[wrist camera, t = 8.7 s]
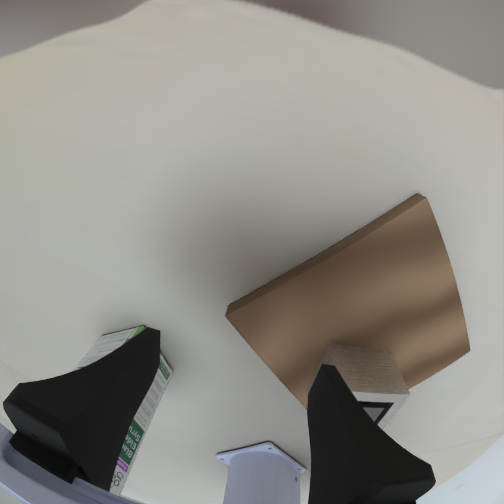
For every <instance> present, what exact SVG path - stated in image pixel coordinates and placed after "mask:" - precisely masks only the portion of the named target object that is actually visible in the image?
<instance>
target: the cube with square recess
mask: <svg viewBox="0 0 504 504" xmlns="http://www.w3.org/2000/svg"><path fill="white" fill-rule="evenodd" d="M322 364H327V365H335V367H336V368H337V370H338V371H339V373H340V375H341V376H342V378H343V379H344V381H345V383H346V384H347V386H348V387H349V389H350V390H351V392H352V393H353V395H354V396H355V398H356V399H357V400H358V401H368V402H383V405H384V409H383V411H382V412H381V413H380V415H379V416H378V417H377V419H376V420H375V421H374V422H375V423H376V424H377V425H378V426H379V427H380V428H381V429H382V430H383V429H384V428H385V426H386V425H387V424H388V423H389V421H390V420H391V419H392V418H393V416H394V415H395V414H396V413H397V411H398V410H399V409H400V407H401V406H402V405H403V403H404V402H405V401H406V399H407V398H408V397H409V395H410V393H409V391H408V388H407V386H406V384H405V381H404V379H403V377H402V374H401V372H400V370H399V368H398V365H397V363H396V361H395V359H394V356H393V354H392V352H391V351H387V350H379V349H371V348H364V347H357V346H350V345H343V344H336V343H330V342H329V344H328V346H327V348H326V350H325V353H324V355H323V357H322V359H321V362H320V364H319V366H318V368H317V370H316V372H315V374H314V377H313V379H312V381H311V383H310V385H309V387H308V389H307V403H308V393H309V391H310V389H311V386H312V384H313V382H314V380H315V378H316V376H317V374H318V371H319V369H320V367H321V365H322Z"/></svg>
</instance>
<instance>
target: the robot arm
mask: <svg viewBox="0 0 504 504" xmlns="http://www.w3.org/2000/svg"><path fill="white" fill-rule="evenodd" d="M159 365H160V331H159V330H156V329H152V328H149V327H147V328H145V329H144V330H143V331H141V332H140V333H138V334H137V335H136V336H134V337H133V338H132V339H130V340H129V341H127V342H126V343H124V344H123V345H121V346H120V347H119V348H117V349H116V350H114V351H112V352H111V353H109V354H107V355H106V356H104V357H102V358H101V359H99V360H97V361H95V362H93V363H91V364H89V365H87V366H85V367H83V368H80V369H78V370H75V371H72V372H70V373H67V374H64V375H61V376H57V377H54V378H50V379H45V380H40V381H34V382H27V383H19V384H18V385H17V386H16V387H15V389H14V390H13V391H12V392H11V393H10V395H9V396H8V397H7V398H6V399H5V401H4V402H3V407H4V410H5V412H6V414H7V416H8V417H9V419H10V420H11V422H12V423H13V425H14V426H15V428H16V429H17V431H16V432H15V434H13V433H12V432H11V431H10V430H8V429H7V428H6V427H5V426H3V425H2V424H1V423H0V486H1V487H2V488H4V489H5V490H6V491H7V492H9V493H10V494H11V495H13V496H14V497H15V498H17V499H18V500H19V501H21V502H22V503H24V504H139V503H136V502H133V501H131V500H128V499H125V498H123V497H120V496H117V495H115V494H112V493H110V487H111V484H112V480H113V476H114V472H115V469H116V465H117V462H118V459H119V455H120V453H121V450H122V447H123V444H124V441H125V438H126V436H127V433H128V430H129V428H130V425H131V423H132V421H133V418H134V416H135V415H136V413H137V411H138V409H139V407H140V405H141V403H142V402H143V400H144V398H145V396H146V394H147V392H148V391H149V389H150V387H151V385H152V383H153V381H154V378H155V376H156V373H157V371H158V368H159ZM307 416H308V426H309V437H310V447H311V478H310V491H309V500H308V504H416V500H417V499H418V498H419V497H421V496H422V495H424V494H425V493H426V492H428V491H429V490H430V489H431V488H432V487H433V486H434V485H435V482H436V480H435V477H434V473H433V470H432V467H431V465H430V464H428V463H426V462H425V461H423V460H421V459H419V458H418V457H416V456H414V455H413V454H411V453H410V452H408V451H407V450H406V449H404V448H403V447H401V446H400V445H399V444H398V443H396V442H395V441H394V440H393V439H392V438H391V437H389V436H388V435H387V434H386V433H385V432H384V431H383V430H382V429H381V428H380V427H379V426H378V425H377V424H376V423H375V422H374V421H373V419H372V418H371V417H370V416H369V415H368V413H367V412H366V411H365V410H364V408H363V407H362V406H361V404H360V403H359V402H358V400H357V399H356V398H355V396H354V395H353V393H352V392H351V390H350V389H349V387H348V386H347V384H346V383H345V381H344V379H343V378H342V376H341V375H340V373H339V371H338V370H337V368H336V367H335V365H327V364H322V365H321V367H320V369H319V371H318V374H317V376H316V378H315V380H314V382H313V384H312V386H311V389H310V391H309V393H308V404H307ZM216 458H217V459H219V460H220V461H222V462H223V463H225V464H226V465H228V466H229V472H228V478H227V484H226V490H225V496H224V502H223V504H300V474H301V473H305V472H306V468H304V467H303V466H301V465H300V464H299V463H297V462H296V461H294V460H293V459H292V458H290V457H289V456H288V455H286V454H285V453H284V452H282V451H281V450H280V449H279V448H277V447H276V446H275V445H273V444H272V443H270V442H266V443H262V444H258V445H254V446H251V447H246V448H242V449H238V450H234V451H229V452H224V453H219V454H217V455H216Z"/></svg>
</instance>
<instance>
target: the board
mask: <svg viewBox="0 0 504 504" xmlns="http://www.w3.org/2000/svg"><path fill="white" fill-rule="evenodd" d="M225 316H226V318H227V319H228V320H229V321H230V323H231V324H232V325H233V326H234V327H235V329H236V330H237V331H238V332H239V333H240V335H241V336H242V337H243V338H244V339H245V340H246V342H247V343H248V344H249V345H250V346H251V348H252V349H253V350H254V351H255V352H256V353H257V354H258V356H259V357H260V358H261V359H262V360H263V361H264V363H265V364H266V365H267V366H268V367H269V368H270V369H271V371H272V372H273V373H274V374H275V375H276V376H277V377H278V378H279V380H280V381H281V382H282V383H283V384H284V385H285V386H286V387H287V388H288V389H289V391H290V392H291V393H292V394H293V395H294V396H295V397H296V398H297V399H298V400H299V401H300V403H301V404H302V405H303V406H304V407H305V408H306V409H307V404H308V403H307V389H308V387H309V385H310V383H311V381H312V379H313V377H314V374H315V372H316V370H317V368H318V366H319V364H320V362H321V359H322V357H323V355H324V353H325V350H326V348H327V346H328V344H329V342H330V343H336V344H343V345H350V346H357V347H364V348H371V349H379V350H387V351H391V352H392V354H393V356H394V359H395V361H396V363H397V365H398V368H399V370H400V372H401V374H402V377H403V379H404V381H405V384H406V386H407V388H408V389H410V388H411V387H413V386H415V385H417V384H419V383H420V382H422V381H424V380H426V379H427V378H429V377H431V376H432V375H434V374H436V373H437V372H439V371H440V370H442V369H444V368H445V367H447V366H448V365H450V364H451V363H453V362H454V361H456V360H457V359H459V358H460V357H462V356H463V355H465V354H466V353H468V352H469V351H470V345H469V339H468V333H467V328H466V323H465V318H464V313H463V309H462V304H461V300H460V296H459V292H458V288H457V284H456V281H455V277H454V274H453V270H452V267H451V263H450V260H449V257H448V254H447V251H446V248H445V245H444V242H443V239H442V236H441V233H440V230H439V228H438V225H437V222H436V220H435V217H434V214H433V212H432V209H431V207H430V204H429V202H428V200H427V197H424V196H422V195H420V194H415V195H414V196H412V197H411V198H409V199H408V200H406V201H404V202H403V203H401V204H400V205H398V206H397V207H395V208H393V209H392V210H390V211H389V212H387V213H385V214H384V215H382V216H381V217H379V218H377V219H376V220H374V221H373V222H371V223H369V224H368V225H366V226H364V227H363V228H361V229H359V230H358V231H356V232H355V233H353V234H351V235H350V236H348V237H346V238H345V239H343V240H341V241H340V242H338V243H336V244H335V245H333V246H331V247H330V248H328V249H326V250H325V251H323V252H321V253H319V254H318V255H316V256H314V257H313V258H311V259H309V260H308V261H306V262H304V263H302V264H301V265H299V266H297V267H296V268H294V269H292V270H290V271H289V272H287V273H285V274H283V275H282V276H280V277H278V278H276V279H275V280H273V281H271V282H269V283H268V284H266V285H264V286H262V287H261V288H259V289H257V290H255V291H253V292H252V293H250V294H248V295H246V296H244V297H243V298H241V299H239V300H237V301H235V302H234V303H232V304H230V305H228V308H227V312H226V315H225Z"/></svg>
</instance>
